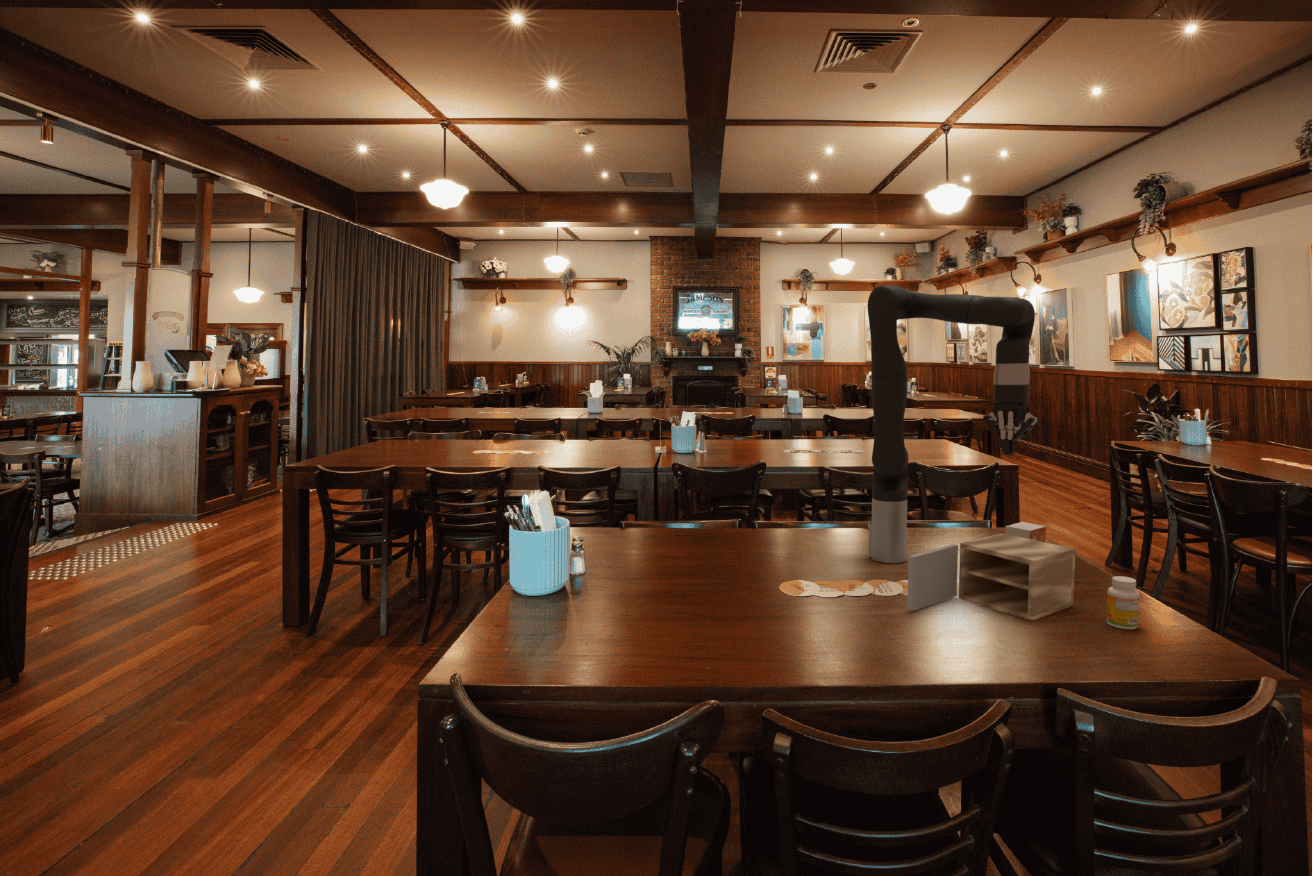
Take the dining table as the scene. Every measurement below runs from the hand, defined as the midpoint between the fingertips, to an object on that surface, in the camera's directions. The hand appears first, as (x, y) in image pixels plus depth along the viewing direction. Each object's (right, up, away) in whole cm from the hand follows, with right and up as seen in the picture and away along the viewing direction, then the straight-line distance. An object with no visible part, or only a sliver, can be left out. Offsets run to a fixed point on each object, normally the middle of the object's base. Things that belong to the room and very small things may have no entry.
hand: (1008, 454), depth 158 cm
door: (-23, -33, -9) cm, 41 cm away
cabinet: (-4, -33, -9) cm, 35 cm away
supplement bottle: (+11, -35, -23) cm, 43 cm away
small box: (+9, -31, +9) cm, 34 cm away
